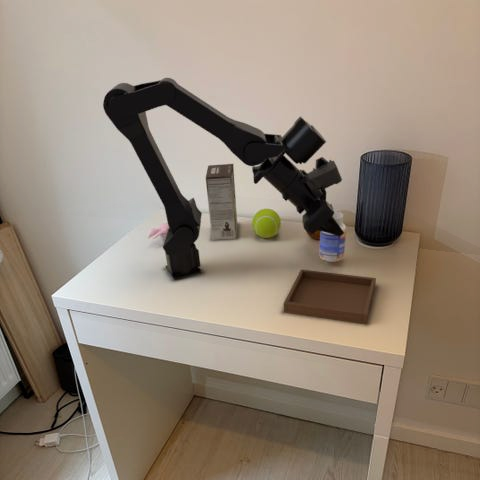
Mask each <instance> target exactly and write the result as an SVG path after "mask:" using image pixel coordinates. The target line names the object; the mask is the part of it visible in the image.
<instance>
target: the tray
mask: <svg viewBox="0 0 480 480" xmlns="http://www.w3.org/2000/svg"><path fill="white" fill-rule="evenodd" d="M376 283H377V278H376V277H371V276H361V275H353V274H346V273H338V272H337V273H335V272H326V271H319V270H311V269H302V268H301V269H300V271H299V272H298V274H297V277H296V278H295V280H294V282H293V284H292V286H291V288H290V290H289V292H288V294H287V296H286V298H285V300H284V302H283V313H287V314H288V313H289V314H293V315H294V314H295V315H303V316H308V317H315V318H323V319H330V320H336V321H342V322H343V321H344V322H351V323H356V324H364V325H366V324H367V321H368V317H369V312H370V309H371V304H372V302H373V301H372V300H373V296H374V294H375V293H374V292H375V289H376Z"/></svg>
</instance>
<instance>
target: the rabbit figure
mask: <svg viewBox="0 0 480 480" xmlns="http://www.w3.org/2000/svg"><path fill="white" fill-rule="evenodd" d="M168 229H169V225H168V222H164V223H162V224H160V225H159V226H157V228H153V229H151V230H150V231H149V232H147V233H148V234H147V238H148V239H150V238H152V240H154V239H155V240H156V239H157V238H158V237H162V238H164V239H165V238H166V234H167V231H168Z"/></svg>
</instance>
